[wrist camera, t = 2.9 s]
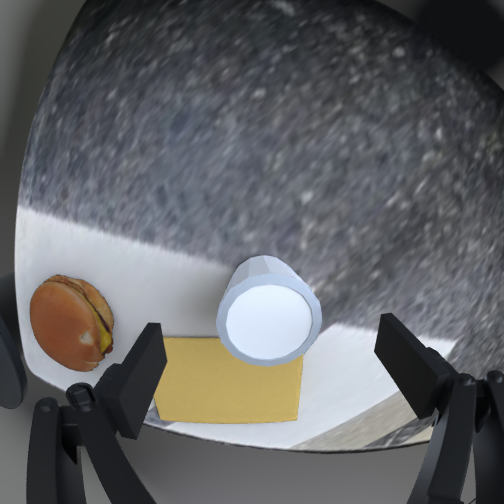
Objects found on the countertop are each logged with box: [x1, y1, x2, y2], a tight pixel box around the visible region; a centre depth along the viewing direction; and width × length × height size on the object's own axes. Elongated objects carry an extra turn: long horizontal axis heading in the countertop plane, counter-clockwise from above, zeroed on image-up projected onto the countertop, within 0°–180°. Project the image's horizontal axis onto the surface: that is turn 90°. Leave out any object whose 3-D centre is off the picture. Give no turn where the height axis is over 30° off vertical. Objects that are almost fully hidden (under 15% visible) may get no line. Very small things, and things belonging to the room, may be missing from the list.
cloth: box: [154, 337, 303, 424], centre depth 27 cm, size 16×12×1 cm
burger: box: [30, 275, 114, 372], centre depth 22 cm, size 10×9×5 cm
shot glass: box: [216, 255, 322, 367], centre depth 21 cm, size 7×7×7 cm
